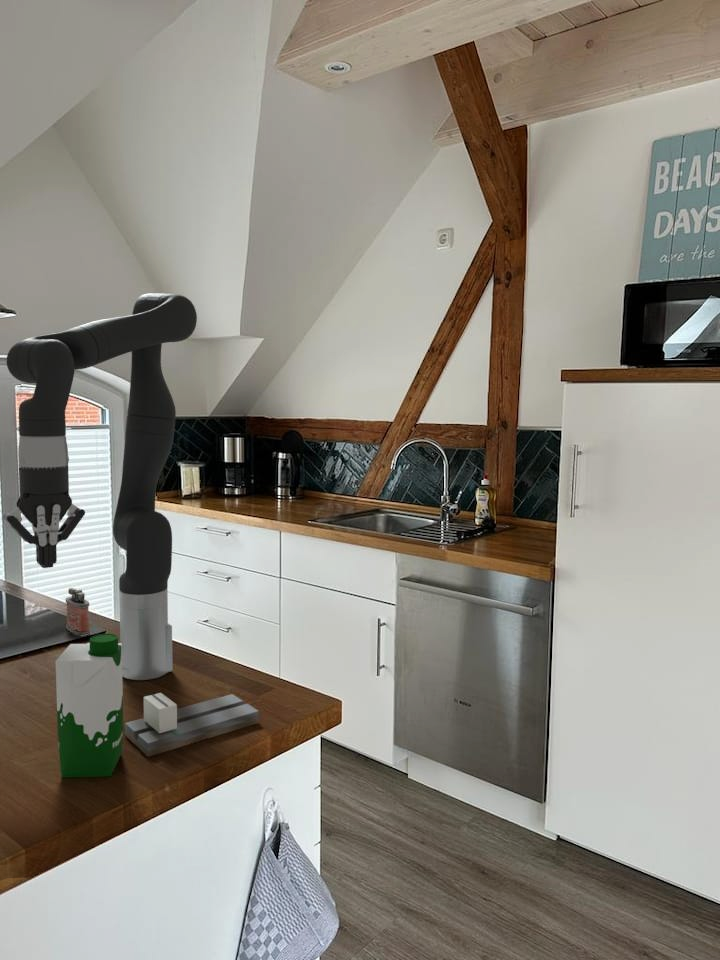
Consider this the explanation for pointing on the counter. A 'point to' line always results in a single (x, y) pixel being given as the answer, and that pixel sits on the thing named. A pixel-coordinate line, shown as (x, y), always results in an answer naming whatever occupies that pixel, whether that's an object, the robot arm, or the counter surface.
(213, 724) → the slider panel
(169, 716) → the slider knob
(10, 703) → the counter surface
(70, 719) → the milk carton
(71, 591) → the lighter
